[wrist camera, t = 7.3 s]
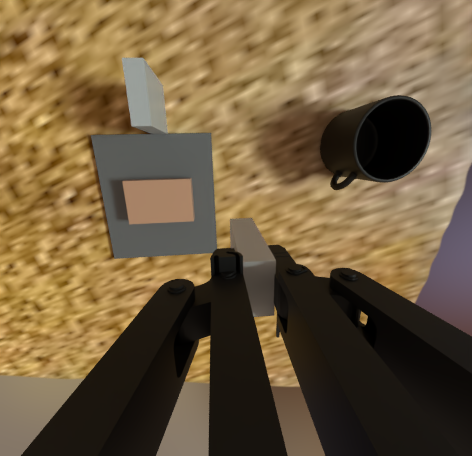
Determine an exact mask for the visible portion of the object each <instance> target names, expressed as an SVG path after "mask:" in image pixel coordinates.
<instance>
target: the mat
mask: <svg viewBox="0 0 472 456" xmlns="http://www.w3.org/2000/svg"><path fill="white" fill-rule="evenodd" d="M91 139H92V144H93V149H94V154H95V160H96V165H97V170H98V175H99V180H100V186H101V191H102V196H103V201H104V207H105V212H106V217H107V222H108V227H109V233H110V238H111V243H112V248H113V253H114V259H116V258H134V257H151V256H168V255H185V254H202V253H213V252H214V251H215V250H216V249H217V240H216V221H215V202H214V182H213V163H212V144H211V133H183V134H125V135H91ZM169 178H192V188H193V201H194V213H195V219H194V221H190V222H169V223H148V224H129V219H128V213H127V207H126V201H125V195H124V189H123V182H122V181H125V180H138V179H169Z"/></svg>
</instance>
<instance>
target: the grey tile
mask: <svg viewBox="0 0 472 456" xmlns="http://www.w3.org/2000/svg"><path fill="white" fill-rule="evenodd" d="M122 62H123V69H124V76H125V83H126V90H127V97H128V104H129V111H130V118H131V125H132V127H135V128H138V129H140V130H143V131H145V132H148V133H151V134H168V131H167V121H166V111H165V101H164V91H163V85H162V84H161V82H160V81H159V79H158V78H157V76H156V75H155V74H154V72H153V71H152V69H151V68H150V67H149V65H148V64H147V62H146V61H145V59H144V58H122Z"/></svg>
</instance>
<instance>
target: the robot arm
mask: <svg viewBox="0 0 472 456" xmlns="http://www.w3.org/2000/svg"><path fill="white" fill-rule="evenodd" d="M230 239H231V248H222V249H216V250H215V251H214V252H213V255H212V256H211V258H210V260H211V279H210V280H209V281H208V282H206V283H204V284H202V285H199V286H195V287H194V284H193V282H191V281H189V280H185V279H175V280H171V281H169V282H167V283H164V284H163V285H162V286H161V287H160V288H159V289H158V290H157V292H156V293H155V294H154V295H153V296H152V298H151V299H150V300H149V301H148V303H147V304H146V305H145V306H144V307H143V309H142V310H141V311H140V312H139V313H138V315H137V316H136V317H135V318H134V319H133V321H132V322H131V323H130V324H129V326H128V327H127V328H126V329H125V330H124V332H123V333H122V334H121V335H120V336H119V338H118V339H117V340H116V341H115V342H114V344H113V345H112V346H111V347H110V348H109V350H108V351H107V352H106V353H105V355H104V356H103V357H102V358H101V359H100V361H99V362H98V363H97V364H96V365H95V367H94V368H93V369H92V370H91V371H90V373H89V374H88V375H87V376H86V378H85V379H84V380H83V381H82V382H81V384H80V385H79V386H78V387H77V389H76V390H75V391H74V392H73V393H72V394H71V396H70V397H69V398H68V399H67V401H66V402H65V403H64V404H63V405H62V407H61V408H60V409H59V410H58V411H57V413H56V414H55V415H54V416H53V418H52V419H51V420H50V421H49V423H48V424H47V425H46V426H45V427H44V428H43V430H42V431H41V432H40V433H39V435H38V436H37V437H36V438H35V439H34V440H33V442H32V443H31V444H30V445H29V447H28V448H27V449H26V450H25V451H24V453H23V454H22V455H21V456H156V454H157V451H158V449H159V446H160V443H161V441H162V438H163V436H164V433H165V430H166V428H167V425H168V423H169V420H170V418H171V415H172V412H173V410H174V407H175V404H176V402H177V399H178V397H179V394H180V391H181V389H182V386H183V383H184V381H185V378H186V376H187V373H188V371H189V368H190V365H191V363H192V360H193V358H194V355H195V352H196V350H197V347H198V344H199V339H201V338H204V337H207V336H210V335H211V337H210V401H209V402H210V403H209V456H287V452H286V448H285V444H284V439H283V435H282V431H281V427H280V423H279V419H278V415H277V411H276V407H275V402H274V398H273V394H272V390H271V386H270V382H269V378H268V374H267V370H266V366H265V361H264V357H263V353H262V349H261V345H260V341H259V337H258V333H257V329H256V325H255V320H254V317H259V316H272V315H274V305H275V307H276V310H277V327H276V337H279V333H280V332H281V335H282V338H283V340H284V343H285V346H286V349H287V351H288V354H289V357H290V360H291V362H292V365H293V368H294V371H295V373H296V376H297V379H298V382H299V384H300V387H301V390H302V393H303V395H304V398H305V401H306V403H307V406H308V409H309V412H310V414H311V417H312V420H313V422H314V426H315V428H316V431H317V434H318V436H319V439H320V442H321V445H322V448H323V450H324V453H325V456H472V336H470V335H468V334H466V333H465V332H463V331H461V330H459V329H458V328H456V327H454V326H453V325H451V324H449V323H447V322H445V321H444V320H442V319H440V318H439V317H437V316H435V315H433V314H432V313H430V312H428V311H426V310H425V309H423V308H421V307H419V306H418V305H416V304H414V303H412V302H411V301H409V300H407V299H406V298H404V297H402V296H400V295H399V294H397V293H395V292H393V291H392V290H390V289H388V288H386V287H385V286H383V285H381V284H379V283H378V282H376V281H374V280H372V279H371V278H369V277H367V276H365V275H364V274H362V273H360V272H358V271H356V270H352V269H350V268H336V269H334V270H332V271H331V273H330V278H325V277H317V276H314V275H313V273H312V272H311V271H310V270H309V269H308V268H307V267H305V266H303V265H299V264H296V263H295V261H294V260H293V259H292V257H291V256H290V255H289V253H288V252H287V251H286V249H285V248H284V247H282V246H280V245H267V244H266V242H265V240H264V238H263V237H262V235H261V233H260V231H259V230H258V228H257V226H256V224H255V223H254V221H253V219H252V218H242V219H230ZM361 311H362V312H363V313H365V314H366V315H367V316H368V319H367V324H366V325H364V324H363V323H361V322H360V321H359V320H360V314H361Z"/></svg>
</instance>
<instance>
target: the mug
mask: <svg viewBox="0 0 472 456" xmlns="http://www.w3.org/2000/svg"><path fill="white" fill-rule="evenodd" d="M430 139H431V122H430V118H429V115H428V113H427V111H426V109H425V108H424V107H423V106H422V104H421V103H419V102H418V101H417V100H415V99H413V98H411V97H408V96H401V95H397V96H390V97H387V98H384V99H381V100H378V101H375V102H372V103H369V104H366V105H363V106H361V107H358V108H355V109H352V110H349V111H346V112H344V113H341V114H340V115H338V116H337V117H335V118H334V119H333V120H332V121H331V122H330V123H329V125H328V126H327V128H326V129H325V131H324V133H323V136H322V140H321V145H320V150H321V157H322V160H323V162H324V164H325V166H326V167H327V168H328V169H329V170H330V171H331V172H332V173H334V176H333V178H332V180H331V183H330V185H331V187H332V188H333V189H334V190H339V189H343V188H345V187H346V186H348V185H349V184H350V183H351V182H352V181H353V180H354V179H362V180H368V181H375V182H392V181H395V180H398V179H400V178H403V177H404V176H406V175H408V174H409V173H410V172H412V171H413V170H414V169H415V168H416V167H417V166H418V165H419V163H420V162H421V161H422V159H423V157H424V156H425V154H426V152H427V149H428V147H429V143H430ZM341 176H342V177H347V178H346V179H345V180H344V181H343V182H341V183H338V184H337V180H338V179H339V177H341Z"/></svg>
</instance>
